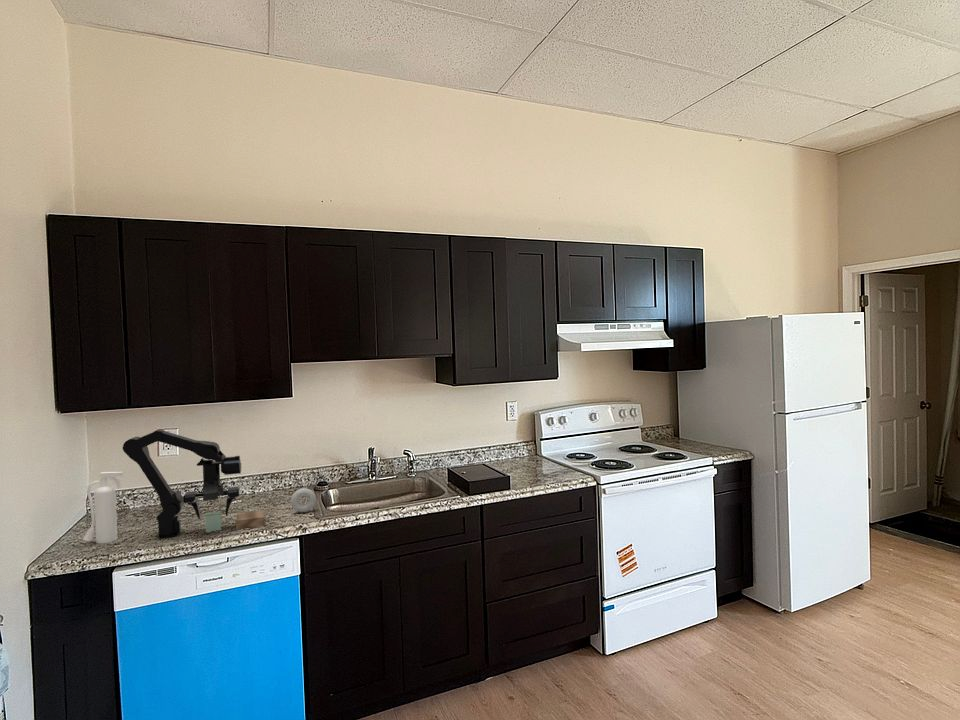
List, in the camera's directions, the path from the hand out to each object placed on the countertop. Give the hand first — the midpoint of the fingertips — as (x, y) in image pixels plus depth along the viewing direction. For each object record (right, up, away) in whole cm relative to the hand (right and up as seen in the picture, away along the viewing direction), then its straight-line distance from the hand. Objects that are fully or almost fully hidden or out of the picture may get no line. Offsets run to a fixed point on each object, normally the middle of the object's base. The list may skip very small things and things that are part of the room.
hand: (213, 517), depth 204 cm
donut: (+28, -4, +19) cm, 34 cm away
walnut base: (+12, -5, +5) cm, 14 cm away
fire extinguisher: (-35, -6, -9) cm, 37 cm away
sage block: (0, -5, 0) cm, 5 cm away
